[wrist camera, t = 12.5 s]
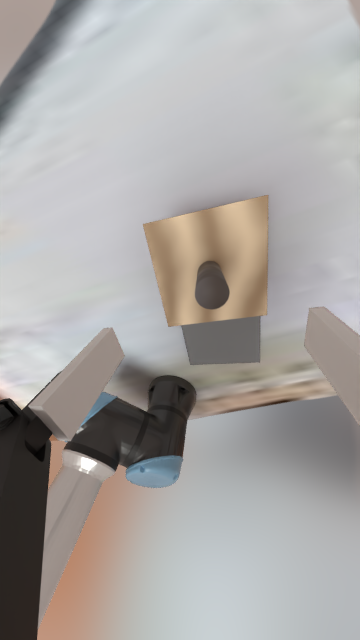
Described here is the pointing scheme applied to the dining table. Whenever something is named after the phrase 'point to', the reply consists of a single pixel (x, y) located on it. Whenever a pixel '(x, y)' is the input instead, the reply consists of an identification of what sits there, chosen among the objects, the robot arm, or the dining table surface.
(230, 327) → the mat
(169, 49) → the dining table surface
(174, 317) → the lid
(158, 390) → the robot arm
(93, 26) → the dining table surface
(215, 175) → the dining table surface
